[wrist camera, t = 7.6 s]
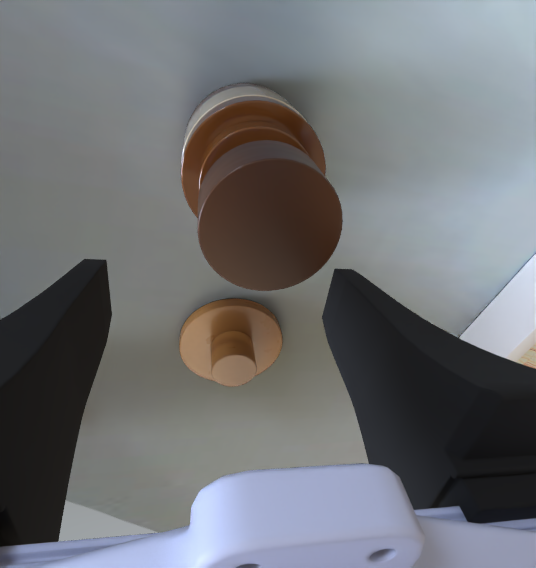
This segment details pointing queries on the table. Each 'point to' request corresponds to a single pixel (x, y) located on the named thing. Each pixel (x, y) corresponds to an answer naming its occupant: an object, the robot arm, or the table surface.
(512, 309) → the framed art
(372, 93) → the table surface
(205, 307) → the wooden peg base
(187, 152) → the bottle
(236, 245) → the brown short cylinder
